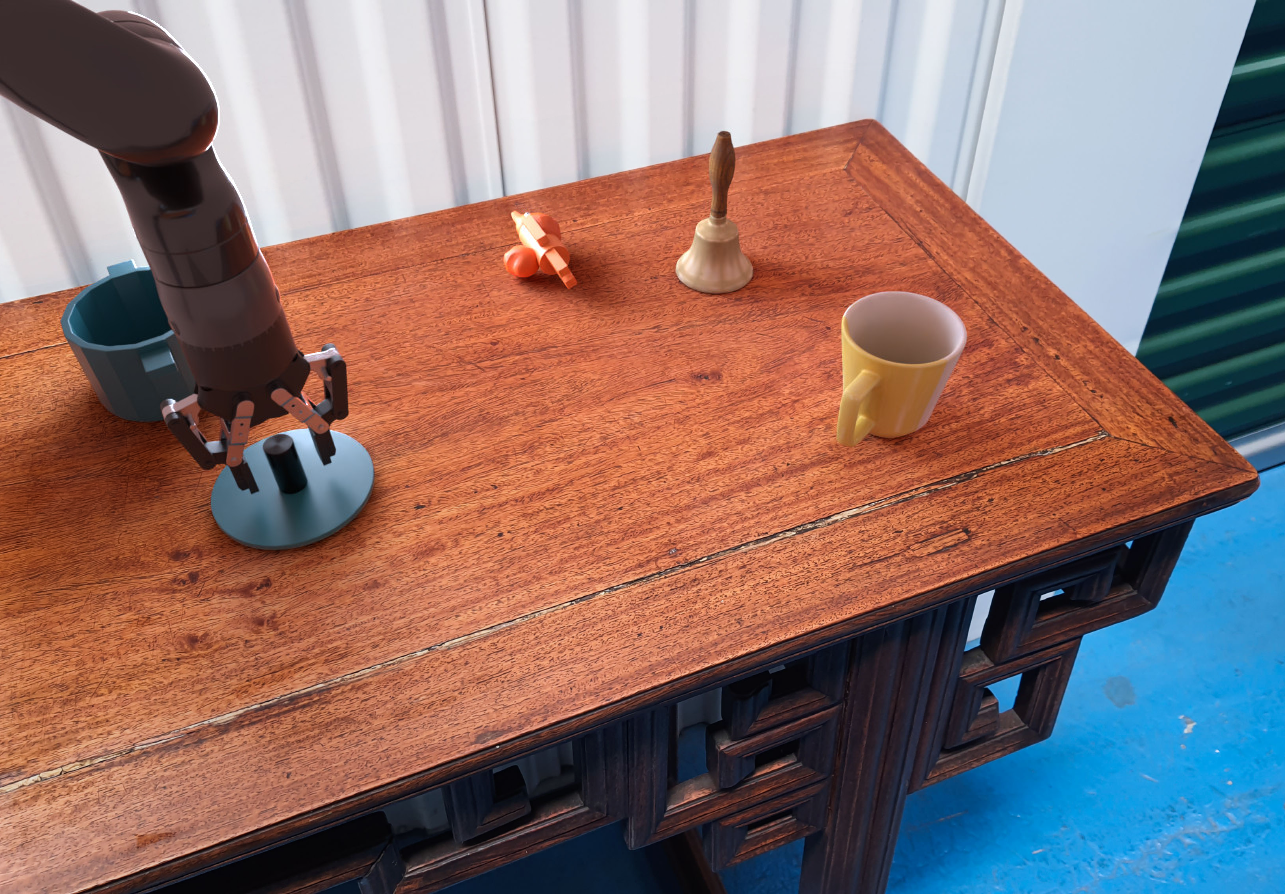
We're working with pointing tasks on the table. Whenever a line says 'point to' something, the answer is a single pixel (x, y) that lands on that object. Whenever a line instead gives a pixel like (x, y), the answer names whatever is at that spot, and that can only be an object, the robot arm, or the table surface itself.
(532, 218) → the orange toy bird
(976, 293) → the table surface
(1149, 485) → the table surface
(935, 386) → the mug
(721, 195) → the hand bell
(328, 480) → the lid
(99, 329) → the pot
